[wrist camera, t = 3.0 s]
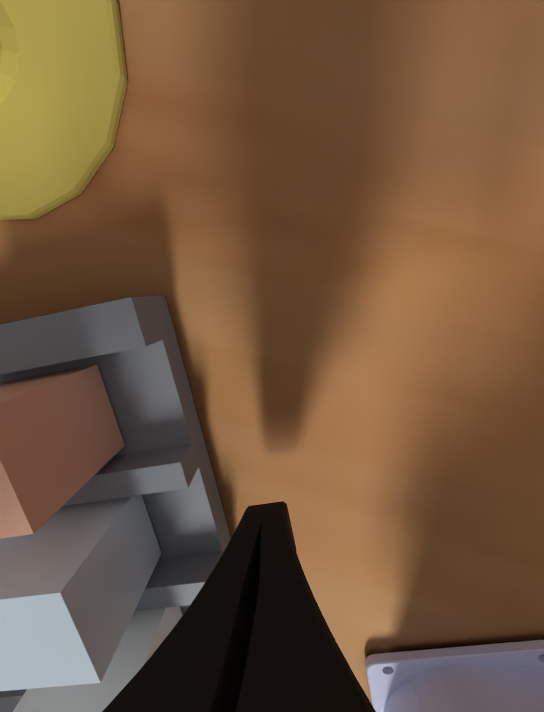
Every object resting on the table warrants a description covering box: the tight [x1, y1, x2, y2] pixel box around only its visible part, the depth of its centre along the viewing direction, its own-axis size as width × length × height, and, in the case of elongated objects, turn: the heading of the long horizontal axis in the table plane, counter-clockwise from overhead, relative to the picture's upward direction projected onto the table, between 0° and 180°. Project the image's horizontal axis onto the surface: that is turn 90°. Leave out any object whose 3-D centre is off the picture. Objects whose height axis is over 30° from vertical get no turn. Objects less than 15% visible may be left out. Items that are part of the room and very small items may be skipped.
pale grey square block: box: [13, 606, 183, 712], centre depth 11 cm, size 4×3×4 cm
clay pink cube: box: [0, 364, 125, 539], centre depth 9 cm, size 4×3×4 cm
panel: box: [0, 295, 231, 712], centre depth 12 cm, size 16×17×3 cm
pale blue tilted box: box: [0, 495, 161, 691], centre depth 10 cm, size 4×3×4 cm
